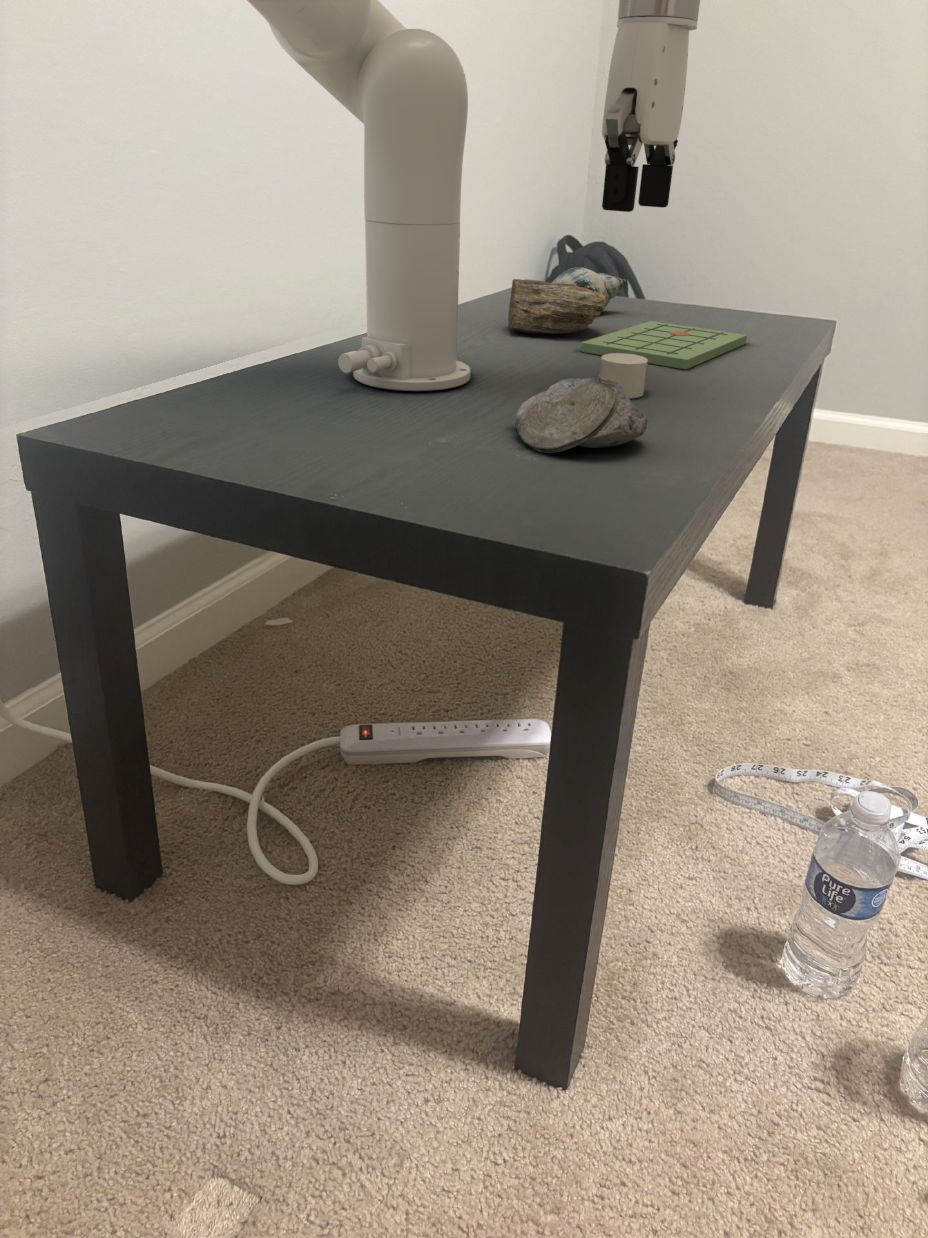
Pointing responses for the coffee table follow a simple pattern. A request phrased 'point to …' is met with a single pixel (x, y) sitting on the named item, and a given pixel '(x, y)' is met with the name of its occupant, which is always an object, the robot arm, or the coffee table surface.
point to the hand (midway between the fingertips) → (635, 208)
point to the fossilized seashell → (579, 416)
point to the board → (666, 343)
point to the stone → (552, 307)
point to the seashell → (592, 281)
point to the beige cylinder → (625, 372)
